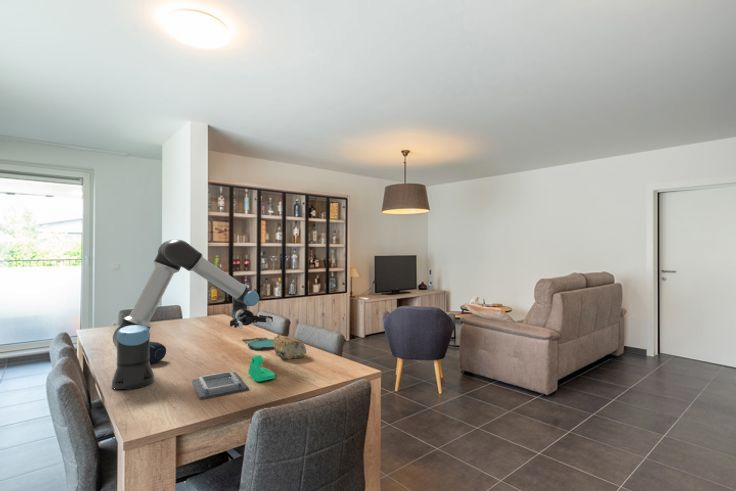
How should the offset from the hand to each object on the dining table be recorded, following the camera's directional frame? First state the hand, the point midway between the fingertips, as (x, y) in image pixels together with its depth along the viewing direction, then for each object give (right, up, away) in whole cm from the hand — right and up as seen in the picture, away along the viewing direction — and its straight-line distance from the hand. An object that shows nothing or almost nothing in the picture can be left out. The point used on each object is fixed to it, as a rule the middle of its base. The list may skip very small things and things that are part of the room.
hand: (256, 324), depth 173 cm
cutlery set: (-11, -23, +49) cm, 55 cm away
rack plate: (-10, -22, -18) cm, 30 cm away
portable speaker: (-63, -22, +16) cm, 69 cm away
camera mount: (+5, -22, -9) cm, 24 cm away
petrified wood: (+9, -22, +26) cm, 35 cm away
